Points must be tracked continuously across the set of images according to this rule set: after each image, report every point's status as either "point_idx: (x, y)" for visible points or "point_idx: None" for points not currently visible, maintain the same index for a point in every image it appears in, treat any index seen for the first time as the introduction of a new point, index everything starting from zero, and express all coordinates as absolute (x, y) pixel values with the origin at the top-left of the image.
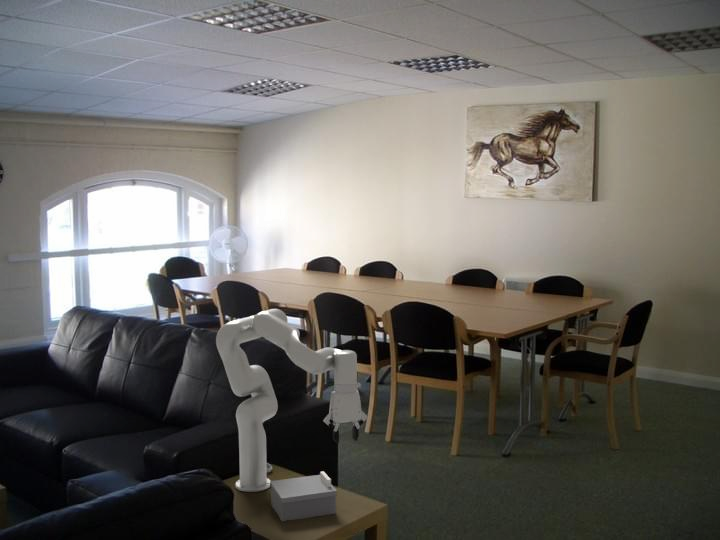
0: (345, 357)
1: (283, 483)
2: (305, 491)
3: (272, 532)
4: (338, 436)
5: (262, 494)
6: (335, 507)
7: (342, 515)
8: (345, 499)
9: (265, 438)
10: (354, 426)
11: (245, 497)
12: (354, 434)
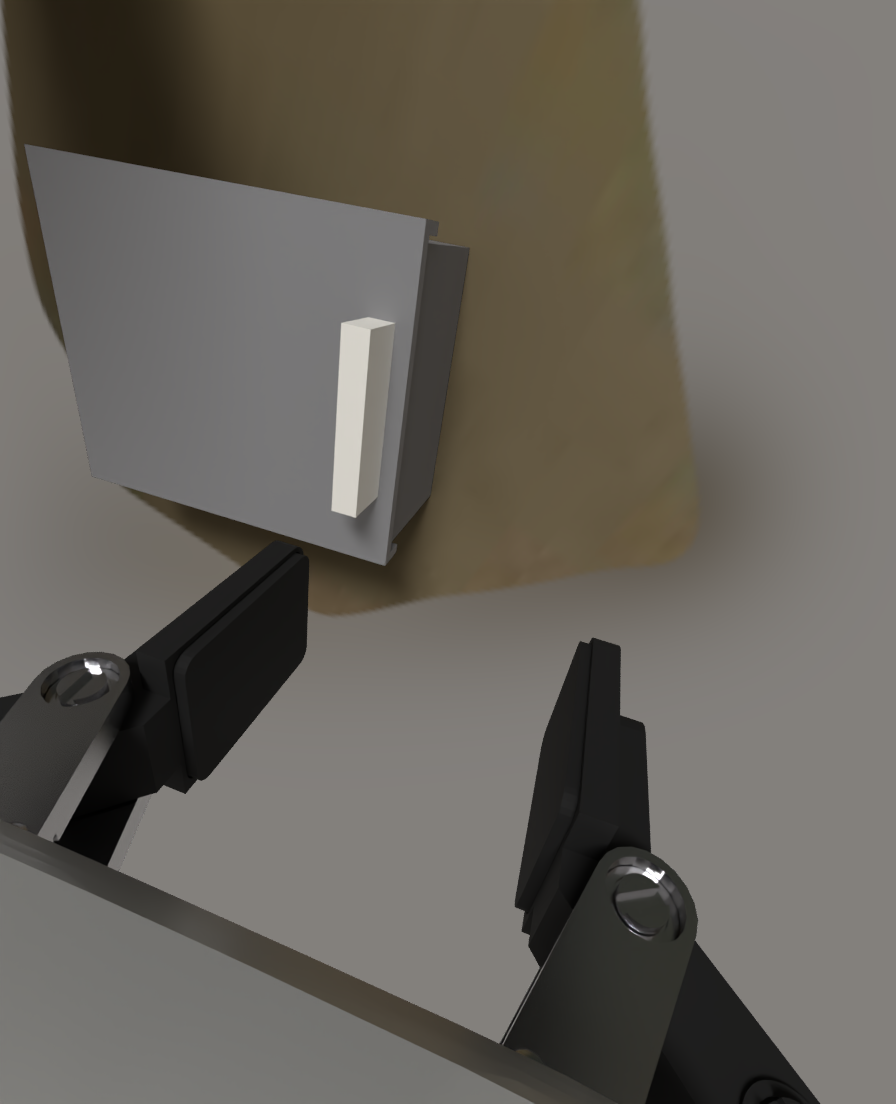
0: None
1: (111, 251)
2: (218, 468)
3: (144, 495)
4: (240, 725)
5: None
6: (419, 507)
7: (447, 531)
8: (577, 361)
9: None
10: (544, 921)
11: None
12: (542, 784)
